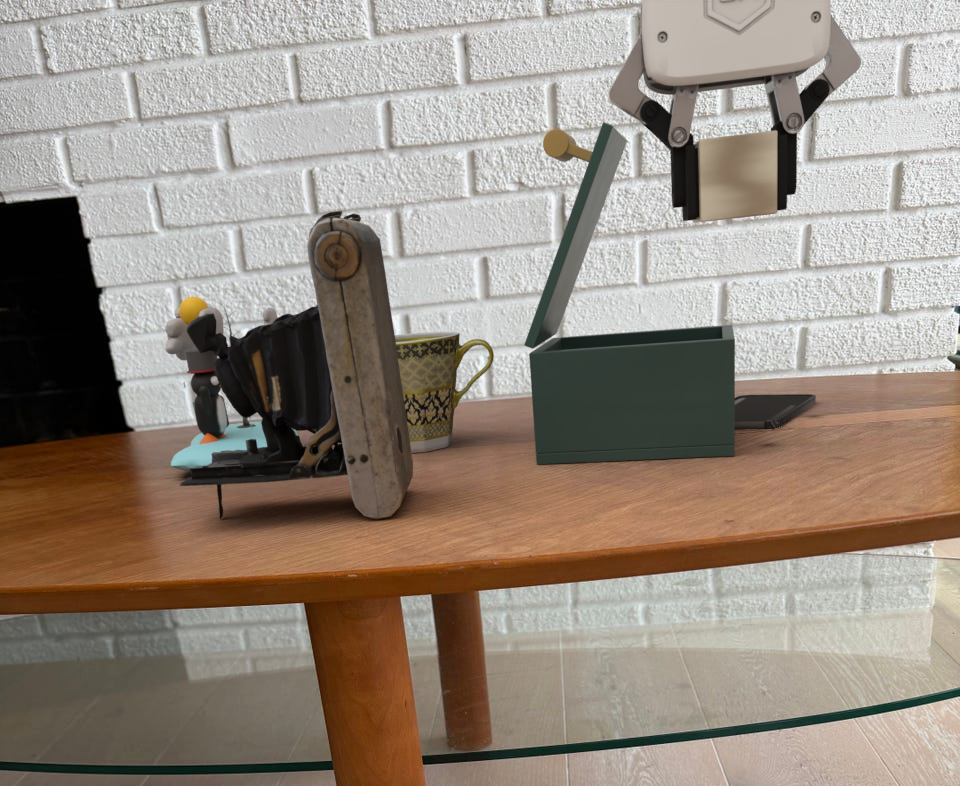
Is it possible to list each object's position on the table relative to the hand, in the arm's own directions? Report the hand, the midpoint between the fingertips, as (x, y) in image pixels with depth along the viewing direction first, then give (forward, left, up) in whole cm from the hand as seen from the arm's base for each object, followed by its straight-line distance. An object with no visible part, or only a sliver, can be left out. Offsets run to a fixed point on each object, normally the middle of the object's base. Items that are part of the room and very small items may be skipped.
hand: (733, 211), depth 61 cm
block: (0, 0, 0) cm, 0 cm away
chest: (+5, -20, -18) cm, 27 cm away
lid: (+9, -21, -1) cm, 23 cm away
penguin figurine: (+43, -27, -18) cm, 54 cm away
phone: (-7, -32, -18) cm, 37 cm away
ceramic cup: (+24, -27, -18) cm, 41 cm away
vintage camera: (+30, -3, -18) cm, 35 cm away
